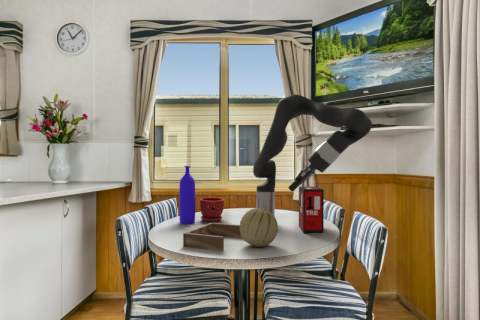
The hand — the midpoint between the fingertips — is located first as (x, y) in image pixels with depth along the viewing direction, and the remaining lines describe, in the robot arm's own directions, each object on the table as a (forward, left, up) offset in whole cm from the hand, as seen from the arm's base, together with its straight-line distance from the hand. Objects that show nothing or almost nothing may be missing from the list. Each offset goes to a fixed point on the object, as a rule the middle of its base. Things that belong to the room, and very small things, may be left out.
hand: (290, 189), depth 123 cm
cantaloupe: (0, -12, -23) cm, 26 cm away
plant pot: (-41, -53, -23) cm, 71 cm away
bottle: (-30, -62, -23) cm, 73 cm away
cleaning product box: (-38, +1, -23) cm, 44 cm away
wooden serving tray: (0, -30, -22) cm, 38 cm away
